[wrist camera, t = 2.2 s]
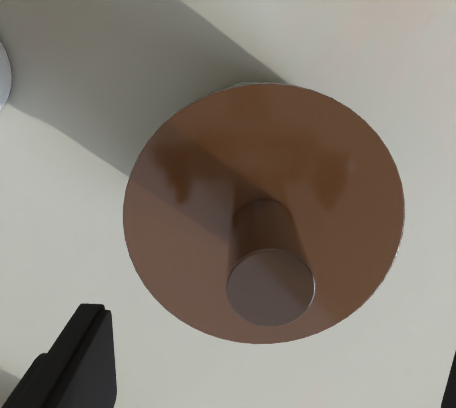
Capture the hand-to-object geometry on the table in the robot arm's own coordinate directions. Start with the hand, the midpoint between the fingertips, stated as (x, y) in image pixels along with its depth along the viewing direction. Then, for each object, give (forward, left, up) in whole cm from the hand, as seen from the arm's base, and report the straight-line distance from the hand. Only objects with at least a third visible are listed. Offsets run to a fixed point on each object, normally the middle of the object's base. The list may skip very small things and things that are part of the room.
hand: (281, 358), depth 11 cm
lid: (0, 0, -8) cm, 8 cm away
